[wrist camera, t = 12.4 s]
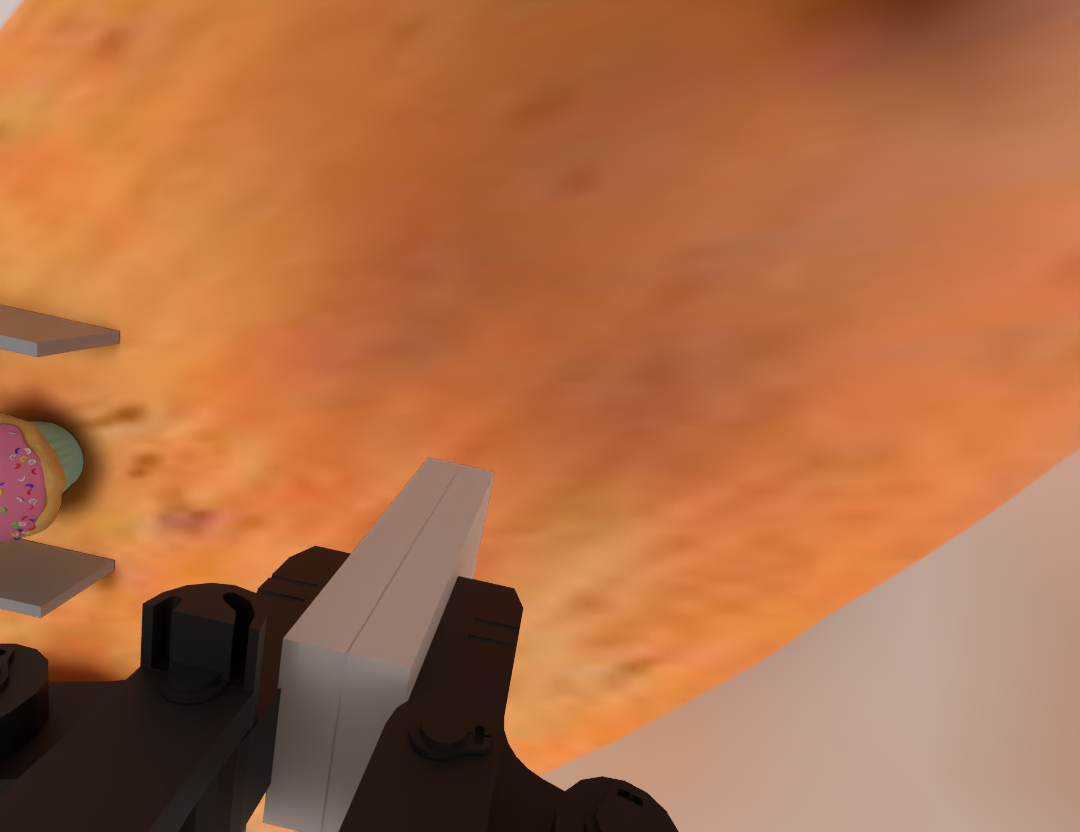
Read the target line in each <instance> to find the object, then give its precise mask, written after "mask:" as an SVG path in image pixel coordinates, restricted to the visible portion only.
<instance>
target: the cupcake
mask: <svg viewBox="0 0 1080 832" xmlns="http://www.w3.org/2000/svg"><path fill="white" fill-rule="evenodd" d="M83 464H84V460H83V454H82V450H81V448H80V446H79V444H78V442H77V441H76V439H75V438H74V437H73V436H72V435H71V434H70V433H69V432H68V431H67V430H65V429H64V428H62V427H61V426H59V425H56V424H54V423H50V422H43V421H40V422H36V421H25V420H22V419H19V418H16V417H13V416H10V415H8V414H4V413H1V412H0V543H1V542H3V541H10V540H19V539H21V537H26V536H30V535H34V534H36V533H39V532H41V531H43V530H45V529H46V528H47V527H49V526H50V525H51V524H52V522H53V521H54V520H55V518H56V516H57V513H58V511H59V508H60V506H61V495H62V493H63V492H64V491H65V490H66V489H67V488H68V487H70V486H71V485H72V484H73V483H74V482H75V481H76V480H77V479H78V478H79V476H80V475H81V473H82V470H83Z"/></svg>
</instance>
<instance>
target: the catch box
mask: <svg viewBox="0 0 1080 832" xmlns="http://www.w3.org/2000/svg"><path fill="white" fill-rule="evenodd" d="M119 335H120V331H117V330H112V329H108V328H103V327H99V326H94V325H90V324H85V323H81V322H76V321H72V320H67V319H63V318H58V317H53V316H49V315H44V314H40V313H35V312H31V311H26V310H22V309H17V308H13V307H8V306H4V305H0V349H2V350H7V351H11V352H16V353H20V354H25V355H29V356H34V357H41V356H47V355H53V354H59V353H65V352H71V351H77V350H82V349H88V348H94V347H100V346H106V345H112V344H117V343H119ZM112 571H114V560H111V559H106V558H102V557H98V556H93V555H89V554H85V553H80V552H76V551H71V550H67V549H63V548H58V547H54V546H49V545H45V544H41V543H36V542H32V541H27V540H23V539H19V540H10V541H3V542H1V543H0V609H4V610H9V611H13V612H17V613H22V614H26V615H30V616H35V617H39V618H42V617H43V616H45V615H46V614H48V613H49V612H51V611H52V610H54V609H55V608H57V607H58V606H60V605H62V604H63V603H65V602H66V601H68V600H69V599H71V598H72V597H74V596H75V595H77V594H78V593H80V592H81V591H83V590H84V589H86V588H88V587H89V586H91V585H92V584H94V583H95V582H97V581H98V580H100V579H101V578H103V577H104V576H106V575H107V574H109V573H111V572H112Z"/></svg>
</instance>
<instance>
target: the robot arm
mask: <svg viewBox="0 0 1080 832" xmlns="http://www.w3.org/2000/svg"><path fill="white" fill-rule="evenodd" d="M494 473H495V472H492V471H488V470H483V469H479V468H474V467H470V466H465V465H461V464H456V463H452V462H447V461H443V460H438V459H434V458H429V457H428V459H427V460H426V461H425V462H424V463H423V465H422V466H421V467H420V468H419V470H418V471H417V472H416V473H415V475H414V476H413V477H412V478H411V480H410V481H409V482H408V483H407V485H406V486H405V487H404V488H403V490H402V491H401V492H400V493H399V495H398V496H397V497H396V498H395V500H394V501H393V502H392V503H391V505H390V506H389V507H388V508H387V510H386V511H385V512H384V513H383V515H382V516H381V517H380V518H379V520H378V521H377V522H376V523H375V525H374V526H373V527H372V528H371V530H370V531H369V532H368V533H367V535H366V536H365V537H364V538H363V540H362V541H361V542H360V543H359V545H358V546H357V547H356V548H355V550H354V551H353V552H352V553H351V554H350V553H345V552H341V551H336V550H332V549H327V548H323V547H319V546H314V547H311V548H309V549H307V550H305V551H303V552H300V553H298V554H296V555H294V556H292V557H289V558H288V559H287V560H286V561H285V562H284V563H283V564H282V565H281V566H280V567H279V568H278V569H277V570H276V571H275V572H274V573H273V574H272V577H271V578H268V579H267V580H266V581H265V582H264V583H263V584H262V585H261V586H260V587H259V588H258V591H257V593H255V592H251V591H249V590H246V589H244V588H241V587H238V586H236V585H227V584H218V583H206V584H195V585H186V586H183V587H180V588H176V589H173V590H169V591H166V592H163V593H161V594H159V595H157V596H156V597H154V598H152V599H150V600H148V601H147V602H145V603H143V610H142V637H141V664H140V668H138V669H137V670H136V671H135V672H134V673H133V674H132V675H131V676H130V677H129V678H127V679H126V680H120V681H109V682H62V683H48V660H47V659H46V658H45V657H44V656H43V655H42V654H41V653H40V652H39V651H38V650H37V649H33V648H30V647H26V646H22V645H18V644H0V832H245V831H246V824H247V822H248V820H249V819H250V817H251V816H252V814H253V812H254V811H255V809H256V807H257V806H258V804H259V802H260V801H261V799H262V797H263V796H264V794H265V792H266V799H265V808H264V817H263V823H267V824H271V825H275V826H279V827H284V828H288V829H292V830H297V831H301V832H678V830H677V828H676V827H675V825H674V823H673V822H672V820H671V818H670V816H669V815H668V813H667V811H666V810H665V809H664V808H663V807H661V806H660V805H659V804H658V803H657V802H656V801H655V800H654V799H653V798H652V797H651V796H650V795H649V794H648V793H646V792H645V791H643V790H641V789H639V788H637V787H635V786H633V785H632V784H630V783H628V782H626V781H623V780H618V779H612V778H607V777H596V778H590V779H584V780H580V781H579V782H578V783H576V784H575V785H573V786H572V787H570V788H569V789H568V790H566V791H563V790H562V789H560V788H558V787H556V786H554V785H553V784H551V783H549V782H547V781H545V780H543V779H542V778H541V777H539V776H538V775H536V774H535V773H533V772H532V771H530V770H529V769H528V768H527V767H526V766H525V765H524V764H523V763H522V762H521V761H520V760H519V759H518V758H517V757H516V755H515V754H514V752H513V750H512V749H511V747H510V745H509V744H508V741H507V738H506V735H505V731H504V715H505V709H506V703H507V697H508V692H509V686H510V680H511V675H512V669H513V663H514V658H515V652H516V646H517V641H518V635H519V629H520V623H521V618H522V612H523V607H522V604H521V602H520V600H519V598H518V595H517V593H516V591H515V589H514V588H510V587H505V586H501V585H497V584H492V583H488V582H483V581H479V580H474V579H473V577H474V572H475V567H476V562H477V557H478V552H479V547H480V542H481V537H482V532H483V527H484V522H485V517H486V512H487V507H488V503H489V498H490V493H491V488H492V483H493V478H494Z"/></svg>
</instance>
